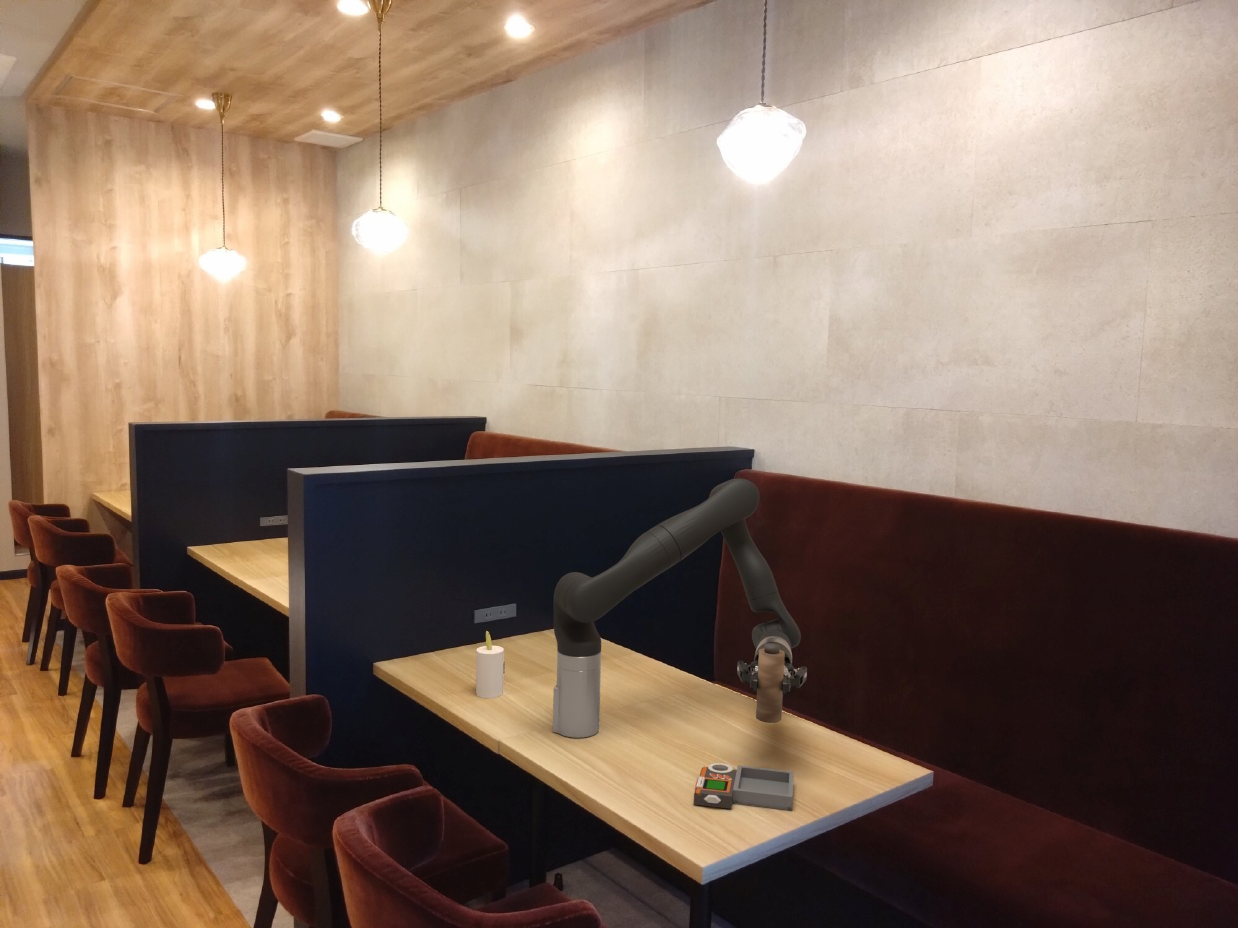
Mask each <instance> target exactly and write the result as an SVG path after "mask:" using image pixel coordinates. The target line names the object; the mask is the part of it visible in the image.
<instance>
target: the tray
mask: <svg viewBox="0 0 1238 928" xmlns="http://www.w3.org/2000/svg"><path fill="white" fill-rule="evenodd" d="M736 770H737V772H736V777H735V782H734V787H733V802H732V804H735V805H743V806H750V807H751V806H752V807H760V808H767V809H774V810H775V809H776V810H781V811H782V810H783V811H793V799H794V798H793V796H794V780H795V779H794V777H795V771H792V770H784V769H775V768H765V767H757V766H756V767H755V766H749V765H748V766H747V765H740V764H737V767H736Z"/></svg>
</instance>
